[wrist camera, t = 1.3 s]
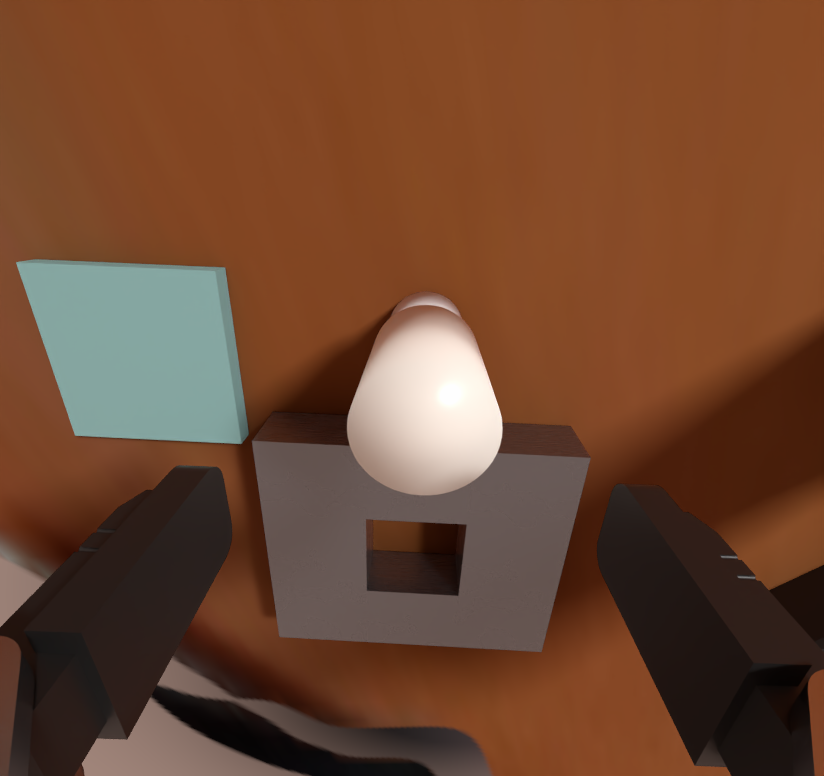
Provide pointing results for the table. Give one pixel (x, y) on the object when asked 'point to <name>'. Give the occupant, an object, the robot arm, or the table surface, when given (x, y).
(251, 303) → the table surface
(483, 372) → the cream rounded tapered piece
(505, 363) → the table surface
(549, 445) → the socket block
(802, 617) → the food platter
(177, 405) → the teal square tile
